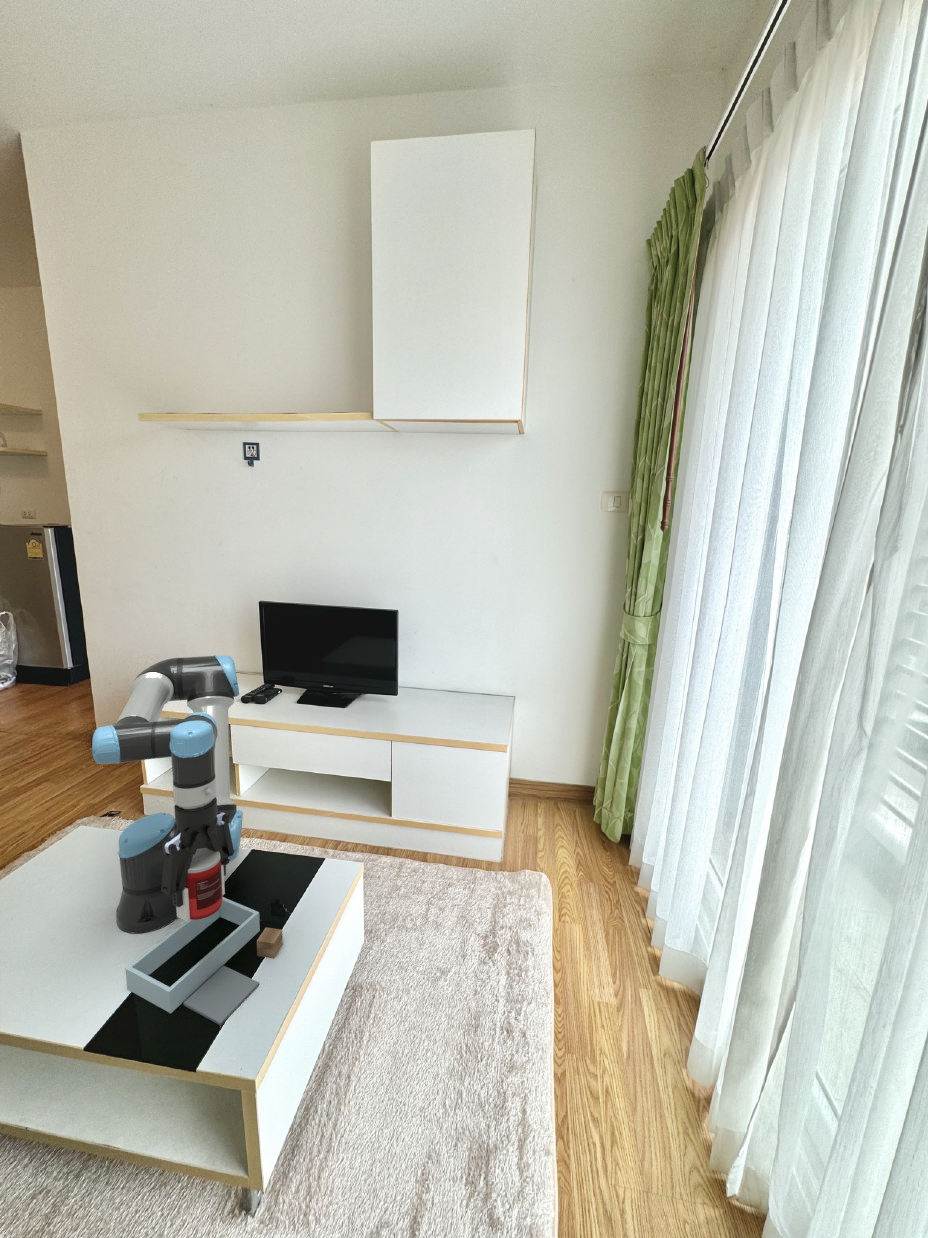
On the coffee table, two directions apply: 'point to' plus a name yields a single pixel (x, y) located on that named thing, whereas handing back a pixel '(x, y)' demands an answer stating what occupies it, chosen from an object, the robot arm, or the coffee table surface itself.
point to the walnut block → (269, 943)
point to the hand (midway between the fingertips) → (201, 904)
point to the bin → (203, 969)
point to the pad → (221, 995)
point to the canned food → (204, 884)
